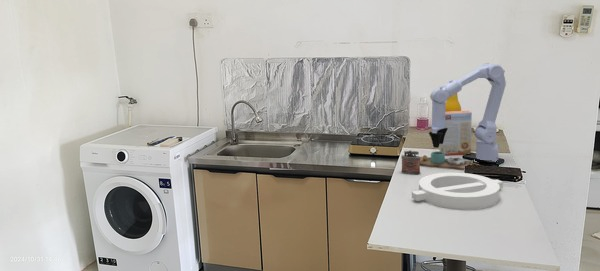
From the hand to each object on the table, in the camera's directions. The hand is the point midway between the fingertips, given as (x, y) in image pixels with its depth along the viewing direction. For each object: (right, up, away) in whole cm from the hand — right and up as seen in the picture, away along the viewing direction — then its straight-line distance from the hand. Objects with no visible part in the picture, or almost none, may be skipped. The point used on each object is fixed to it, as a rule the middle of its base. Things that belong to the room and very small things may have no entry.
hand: (438, 145), depth 209 cm
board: (+2, -8, +1) cm, 9 cm away
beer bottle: (+19, +1, +41) cm, 45 cm away
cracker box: (+13, -5, +17) cm, 22 cm away
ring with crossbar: (-4, -18, -38) cm, 43 cm away
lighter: (-15, -12, -10) cm, 21 cm away
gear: (0, -7, +2) cm, 8 cm away
